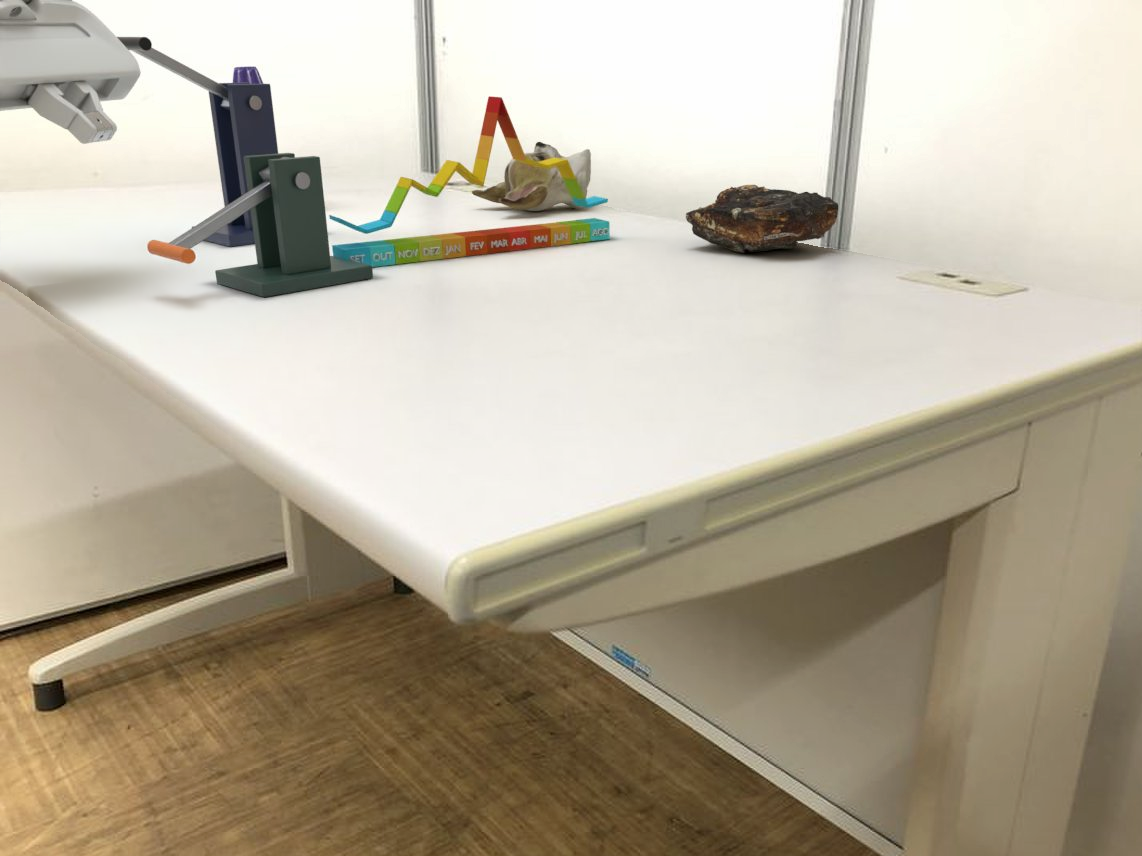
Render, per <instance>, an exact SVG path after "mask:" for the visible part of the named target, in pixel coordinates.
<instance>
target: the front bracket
mask: <svg viewBox="0 0 1142 856" xmlns="http://www.w3.org/2000/svg"><path fill="white" fill-rule="evenodd" d="M282 157H288V158H282ZM280 158H281V159H280ZM244 164H245V171H246V179H247V187H248V192H249V191H250V190H252V189H253V188H255V187H256V186H258V185H260V184H261V183H263V182H264V181H263V180H262V178H261V176H260V174H259V172H260V171H262V170H263V169H265V168H266V167H268V166H269V171H270V179H271V188H272V196H273V197H272V196H270V197H268V198H267V199H265V200H264V201H262V202H261V203H259V204H258V205H256V206H255V207H253V208H252V209H250V210H251V217H252V225H253V233H254V240H255V243H254V247H255V248H254V249H255V255H256V262H257V263H255V264H248V265H241V266H235V267H234V266H233V267H228V268H222V269H216V270H215V271H214V273H215V281H216V284H218V285H221V286H225V287H228V288H231V289H235V290H238V291H242V292H245V293H248V294H252V295H255V296H259V297H262V298H267V297H268V298H269V297H274V296H279V295H285V294H292V293H296V292H302V291H303V292H304V291H308V290H314V289H320V288H325V287H330V286H336V285H342V284H347V283H354V282H359V281H364V280H370V279H373V278H374V273H373V271H374V270H373V267H372V265H368V264H364V263H360V262H355V261H351V260H347V259H342V258H338V257H333V255H331V253H330V243H329V235H328V223H327V214H326V203H325V194H324V186H323V175H322V167H321V165H322V164H321V157H320V156H317V155H309V156H297V157H296V156H295V153H293V152H281V153H280V152H278V154H265V155H251V156H244Z"/></svg>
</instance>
